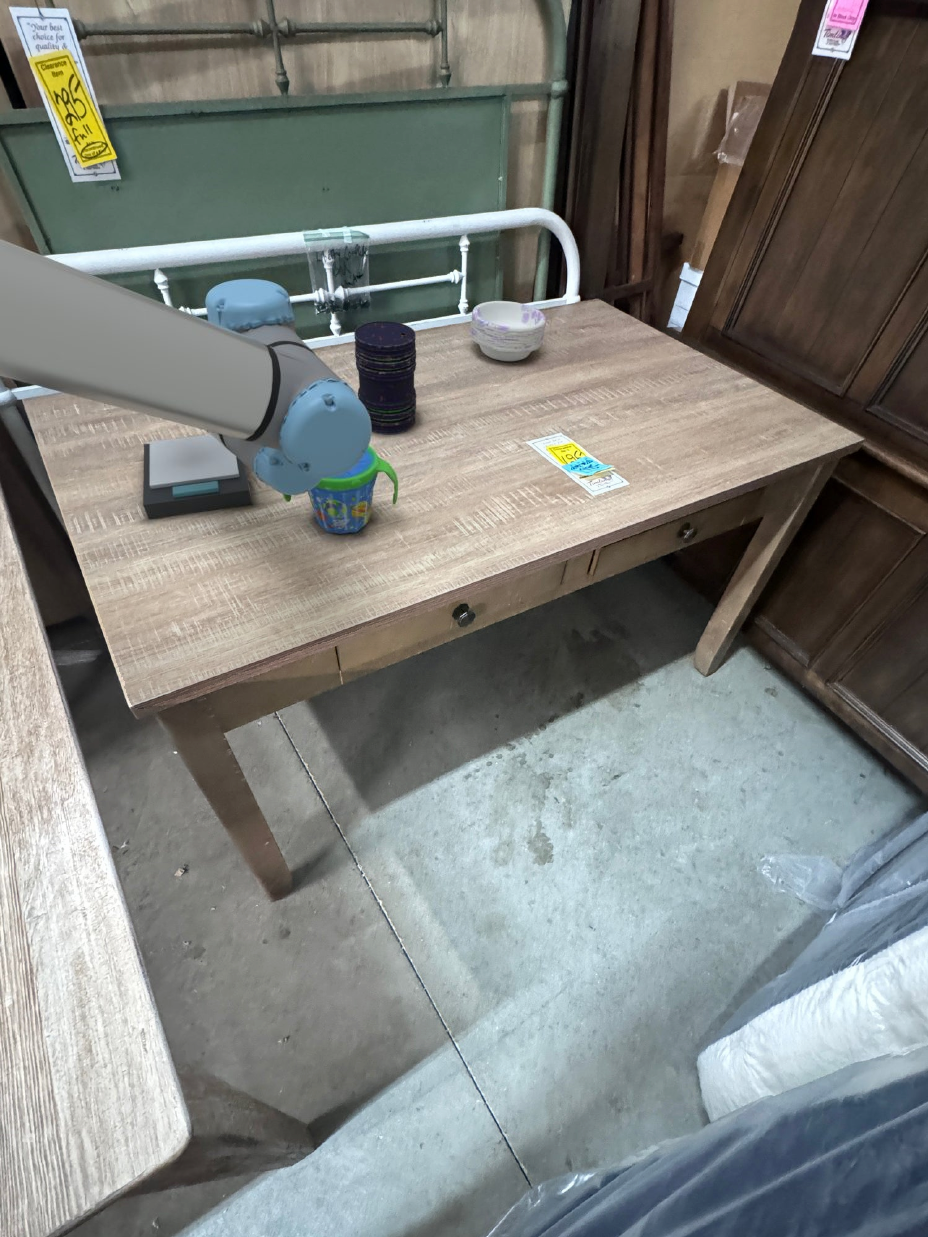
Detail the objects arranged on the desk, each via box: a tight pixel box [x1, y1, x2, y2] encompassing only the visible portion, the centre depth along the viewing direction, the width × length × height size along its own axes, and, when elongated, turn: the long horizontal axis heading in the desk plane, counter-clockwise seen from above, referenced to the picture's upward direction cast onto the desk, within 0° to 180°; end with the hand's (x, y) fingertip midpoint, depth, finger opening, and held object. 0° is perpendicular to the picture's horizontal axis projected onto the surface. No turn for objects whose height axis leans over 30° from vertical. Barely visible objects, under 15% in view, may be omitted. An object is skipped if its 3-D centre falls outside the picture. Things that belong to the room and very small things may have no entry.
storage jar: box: [353, 320, 417, 435], centre depth 102 cm, size 10×10×15 cm
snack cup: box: [282, 444, 399, 534], centre depth 84 cm, size 16×10×10 cm
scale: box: [142, 434, 253, 520], centre depth 91 cm, size 14×16×3 cm
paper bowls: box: [470, 300, 547, 362], centre depth 127 cm, size 15×15×8 cm
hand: (145, 339), depth 82 cm, fingers closed on beverage cup, 5 cm apart
